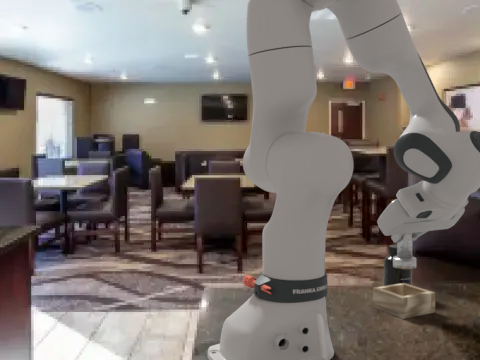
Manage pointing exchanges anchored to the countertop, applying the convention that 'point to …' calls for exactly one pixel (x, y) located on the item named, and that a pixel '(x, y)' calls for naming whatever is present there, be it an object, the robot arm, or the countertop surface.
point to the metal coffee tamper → (404, 253)
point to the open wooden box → (404, 300)
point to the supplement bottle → (395, 270)
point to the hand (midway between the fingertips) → (402, 239)
